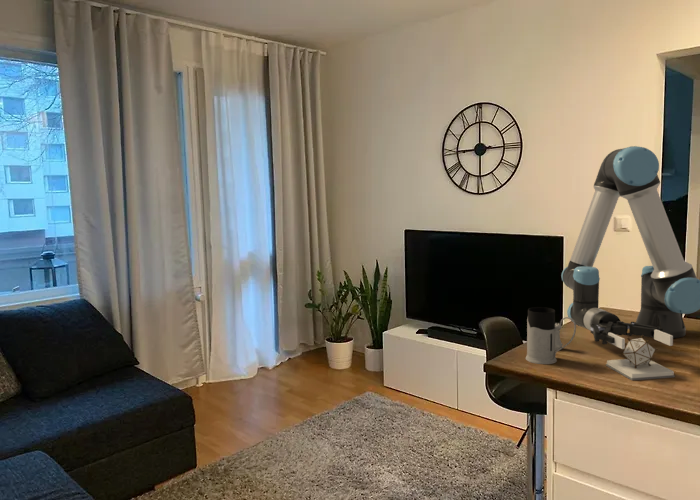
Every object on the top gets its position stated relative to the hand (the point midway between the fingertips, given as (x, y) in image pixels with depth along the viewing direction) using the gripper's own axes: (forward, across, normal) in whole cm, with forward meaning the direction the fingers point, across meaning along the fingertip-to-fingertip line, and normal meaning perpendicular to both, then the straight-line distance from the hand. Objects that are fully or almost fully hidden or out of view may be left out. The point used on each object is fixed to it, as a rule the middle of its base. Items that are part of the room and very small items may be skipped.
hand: (647, 342), depth 144 cm
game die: (-3, 0, -8) cm, 8 cm away
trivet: (-3, 0, -9) cm, 10 cm away
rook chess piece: (-27, +12, -9) cm, 31 cm away
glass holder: (-16, +19, -9) cm, 27 cm away
